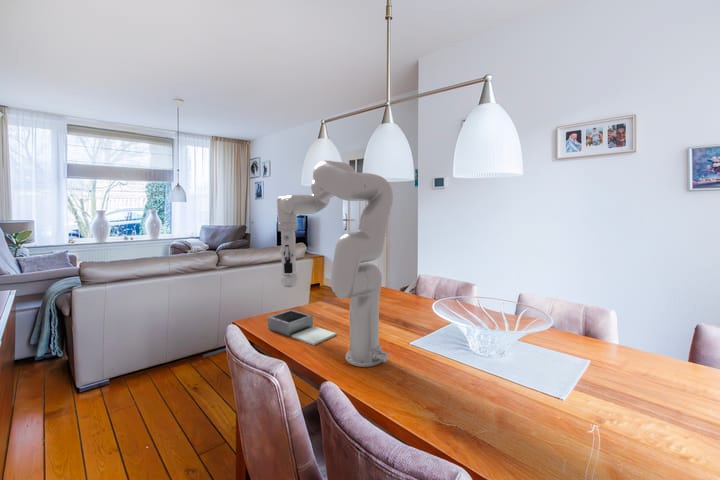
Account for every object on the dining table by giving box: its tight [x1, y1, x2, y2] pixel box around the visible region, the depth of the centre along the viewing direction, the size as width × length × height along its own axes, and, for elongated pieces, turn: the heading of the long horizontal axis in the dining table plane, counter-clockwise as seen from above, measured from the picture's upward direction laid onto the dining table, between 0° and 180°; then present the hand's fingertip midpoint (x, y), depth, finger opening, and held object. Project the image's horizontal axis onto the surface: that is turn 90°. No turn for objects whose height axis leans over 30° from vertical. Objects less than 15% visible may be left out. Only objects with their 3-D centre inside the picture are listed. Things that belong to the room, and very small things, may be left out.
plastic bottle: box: [279, 245, 299, 288], centre depth 135 cm, size 6×7×20 cm
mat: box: [291, 326, 337, 346], centre depth 129 cm, size 12×12×1 cm
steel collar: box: [267, 309, 314, 338], centre depth 137 cm, size 13×12×5 cm
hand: (289, 271), depth 135 cm, fingers closed on plastic bottle, 5 cm apart
